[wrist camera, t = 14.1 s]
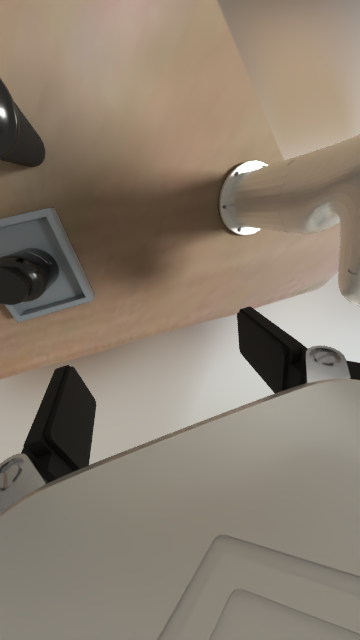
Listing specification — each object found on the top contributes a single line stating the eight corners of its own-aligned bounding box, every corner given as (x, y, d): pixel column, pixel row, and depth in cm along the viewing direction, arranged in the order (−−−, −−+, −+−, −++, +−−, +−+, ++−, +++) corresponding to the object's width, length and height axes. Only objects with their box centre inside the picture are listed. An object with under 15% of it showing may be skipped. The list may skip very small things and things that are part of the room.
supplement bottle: (55, 247, 35) (29, 261, 25) (63, 284, 39) (43, 311, 28) (9, 246, 34) (-39, 261, 23) (22, 286, 37) (-16, 314, 27)
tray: (54, 208, 33) (49, 207, 31) (94, 295, 42) (93, 300, 39) (-37, 228, 32) (-51, 230, 29) (24, 315, 40) (17, 322, 37)
